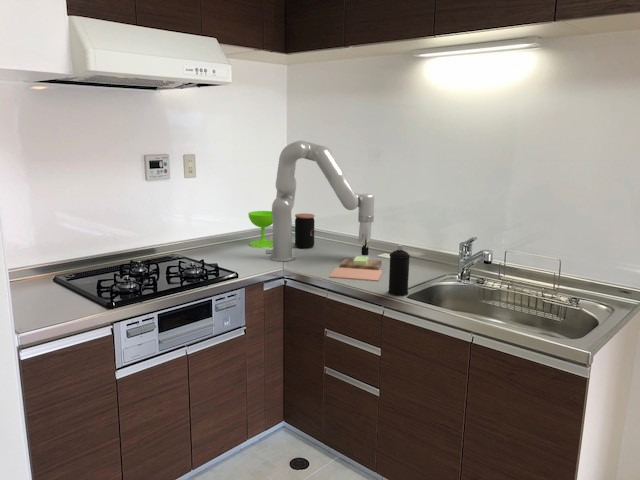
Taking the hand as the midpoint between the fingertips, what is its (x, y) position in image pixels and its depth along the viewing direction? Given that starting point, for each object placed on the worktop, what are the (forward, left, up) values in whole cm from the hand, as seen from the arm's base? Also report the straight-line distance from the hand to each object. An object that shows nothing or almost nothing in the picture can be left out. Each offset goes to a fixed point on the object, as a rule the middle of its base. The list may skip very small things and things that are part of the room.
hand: (364, 254), depth 261 cm
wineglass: (-61, +20, -3) cm, 64 cm away
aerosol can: (+21, -47, -3) cm, 51 cm away
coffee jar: (-37, +21, -3) cm, 43 cm away
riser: (0, -11, -3) cm, 11 cm away
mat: (0, -25, -3) cm, 25 cm away
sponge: (0, -11, 0) cm, 11 cm away
